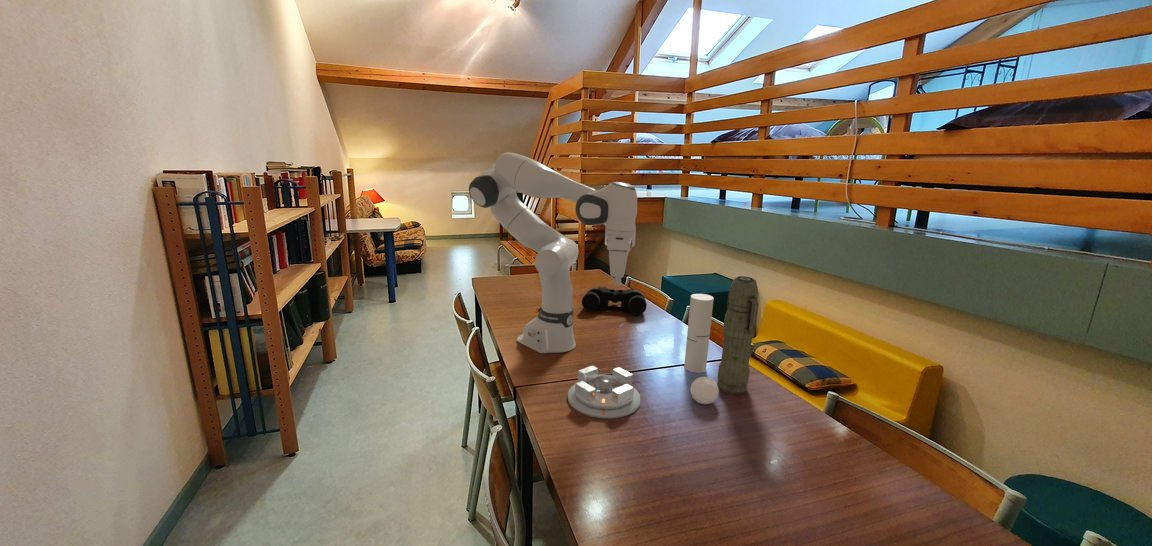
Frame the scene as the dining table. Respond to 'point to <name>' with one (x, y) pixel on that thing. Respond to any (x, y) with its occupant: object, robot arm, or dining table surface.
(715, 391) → the geometric ball
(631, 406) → the cap plate
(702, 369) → the cylindrical container
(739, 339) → the thermos
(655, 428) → the dining table surface
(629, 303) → the binoculars
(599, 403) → the tabbed round base
